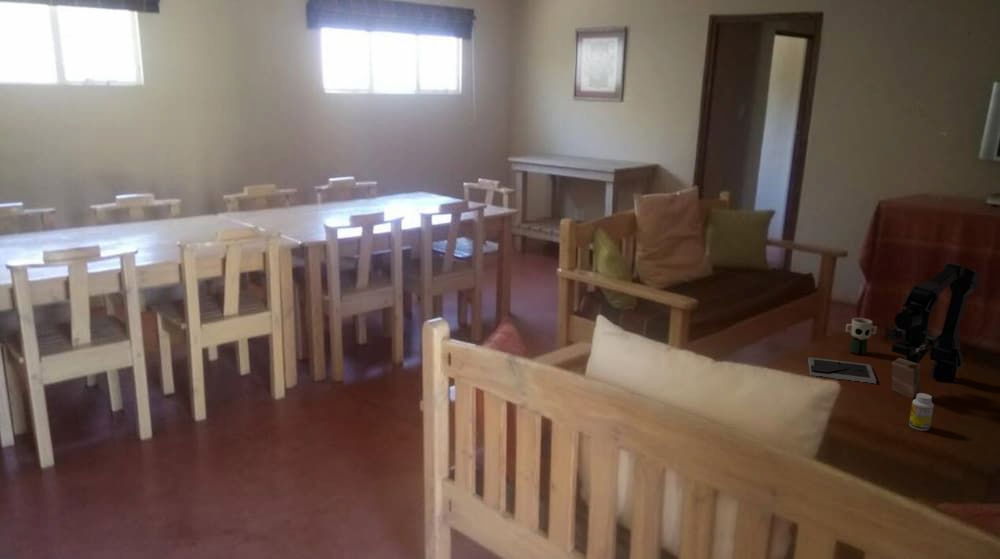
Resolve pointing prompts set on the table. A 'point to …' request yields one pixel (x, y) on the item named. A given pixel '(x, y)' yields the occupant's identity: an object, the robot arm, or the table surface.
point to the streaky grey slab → (906, 377)
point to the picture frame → (841, 370)
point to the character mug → (860, 334)
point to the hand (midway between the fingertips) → (911, 369)
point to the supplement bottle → (921, 412)
